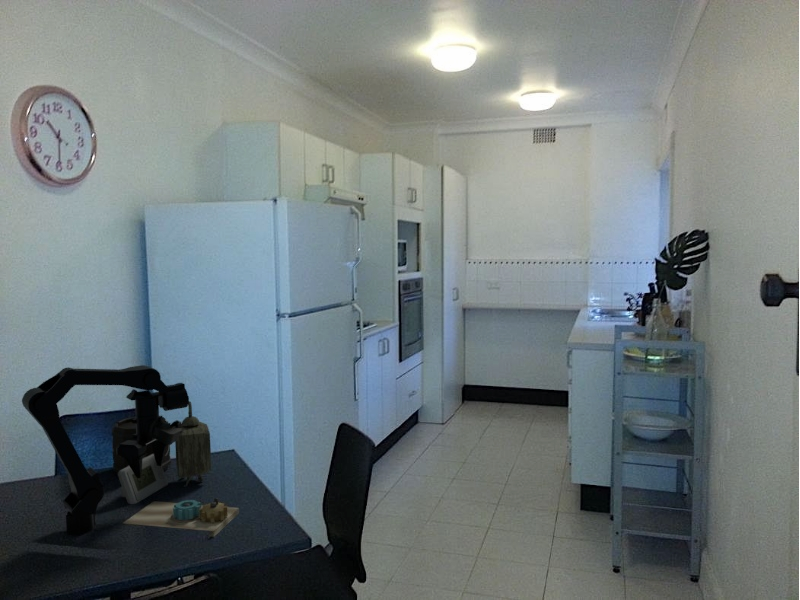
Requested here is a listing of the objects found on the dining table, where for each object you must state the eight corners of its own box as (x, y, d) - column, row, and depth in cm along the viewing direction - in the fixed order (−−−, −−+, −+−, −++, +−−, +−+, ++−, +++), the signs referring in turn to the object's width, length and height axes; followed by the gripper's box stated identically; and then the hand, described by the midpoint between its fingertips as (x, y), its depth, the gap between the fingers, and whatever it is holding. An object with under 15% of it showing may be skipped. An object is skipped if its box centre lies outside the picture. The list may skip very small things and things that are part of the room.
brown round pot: (185, 465, 208) (183, 418, 207) (138, 483, 193) (135, 432, 191) (148, 456, 217) (146, 411, 216) (100, 473, 202) (98, 424, 200)
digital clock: (131, 511, 173) (129, 473, 172) (108, 505, 177) (106, 467, 176) (177, 490, 187) (175, 455, 186) (154, 485, 191) (153, 450, 190)
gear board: (213, 536, 157) (213, 513, 157) (122, 528, 162) (121, 505, 161) (238, 513, 171) (238, 491, 170) (154, 506, 176) (153, 485, 175)
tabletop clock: (176, 477, 198) (173, 397, 195) (206, 473, 201) (204, 395, 199) (179, 493, 184) (176, 409, 182) (212, 489, 188) (209, 405, 186)
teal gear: (192, 522, 162) (192, 510, 162) (168, 520, 163) (167, 508, 163) (206, 510, 169) (205, 499, 168) (182, 509, 170) (181, 498, 170)
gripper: (154, 425, 157) (156, 487, 158) (193, 406, 175) (195, 462, 176) (114, 422, 159) (116, 483, 161) (157, 404, 177) (159, 459, 179)
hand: (149, 471), depth 169 cm, fingers open, 9 cm apart
